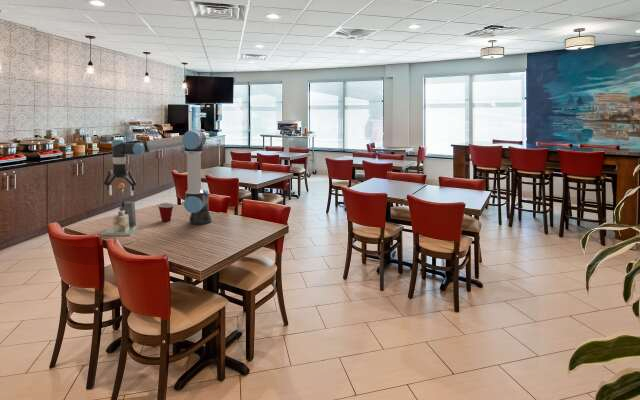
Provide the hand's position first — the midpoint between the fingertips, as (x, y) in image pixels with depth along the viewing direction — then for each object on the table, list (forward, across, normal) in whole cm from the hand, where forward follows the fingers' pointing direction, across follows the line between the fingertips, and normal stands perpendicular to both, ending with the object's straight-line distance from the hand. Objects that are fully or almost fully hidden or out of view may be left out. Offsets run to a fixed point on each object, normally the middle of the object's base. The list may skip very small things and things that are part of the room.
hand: (121, 195), depth 270 cm
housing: (+19, -5, +16) cm, 25 cm away
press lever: (+10, 0, 0) cm, 10 cm away
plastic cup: (+21, -25, -13) cm, 35 cm away
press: (+21, -5, +11) cm, 24 cm away
